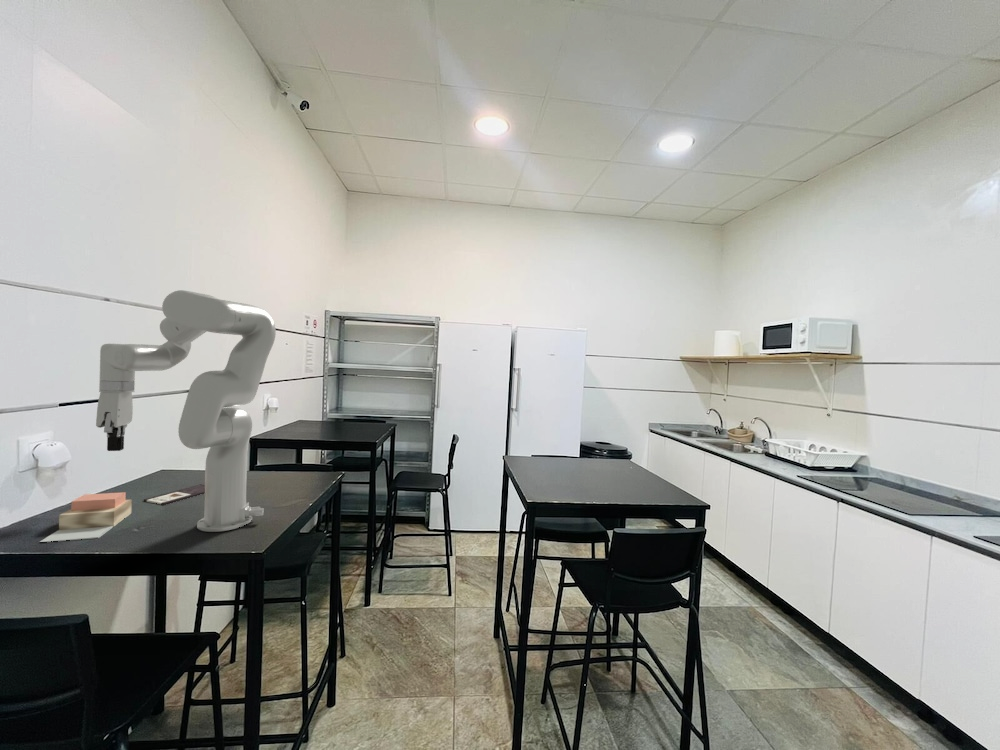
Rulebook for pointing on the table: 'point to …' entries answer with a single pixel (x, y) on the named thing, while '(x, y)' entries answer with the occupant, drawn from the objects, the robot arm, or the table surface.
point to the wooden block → (94, 517)
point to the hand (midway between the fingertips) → (115, 450)
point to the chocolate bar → (177, 495)
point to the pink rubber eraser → (98, 501)
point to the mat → (77, 534)
